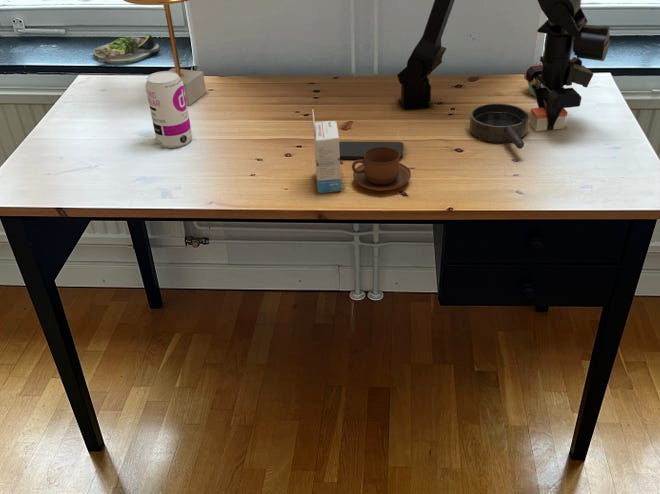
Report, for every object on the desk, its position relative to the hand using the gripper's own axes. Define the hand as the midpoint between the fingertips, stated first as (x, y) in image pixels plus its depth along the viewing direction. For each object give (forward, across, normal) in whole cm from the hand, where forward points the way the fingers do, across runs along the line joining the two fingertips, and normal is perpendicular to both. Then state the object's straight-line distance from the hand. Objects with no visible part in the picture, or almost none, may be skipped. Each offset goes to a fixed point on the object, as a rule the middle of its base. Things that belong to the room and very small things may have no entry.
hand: (547, 122), depth 180 cm
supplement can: (+1, +12, +86) cm, 87 cm away
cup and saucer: (+1, -18, +43) cm, 47 cm away
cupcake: (+1, +19, -5) cm, 20 cm away
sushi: (+1, 0, 0) cm, 1 cm away
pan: (+1, 0, +12) cm, 12 cm away
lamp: (+1, +38, +84) cm, 92 cm away
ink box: (+1, -16, +54) cm, 56 cm away
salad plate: (+1, +74, +99) cm, 124 cm away
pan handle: (-2, -11, +12) cm, 16 cm away
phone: (+1, -4, +43) cm, 43 cm away
